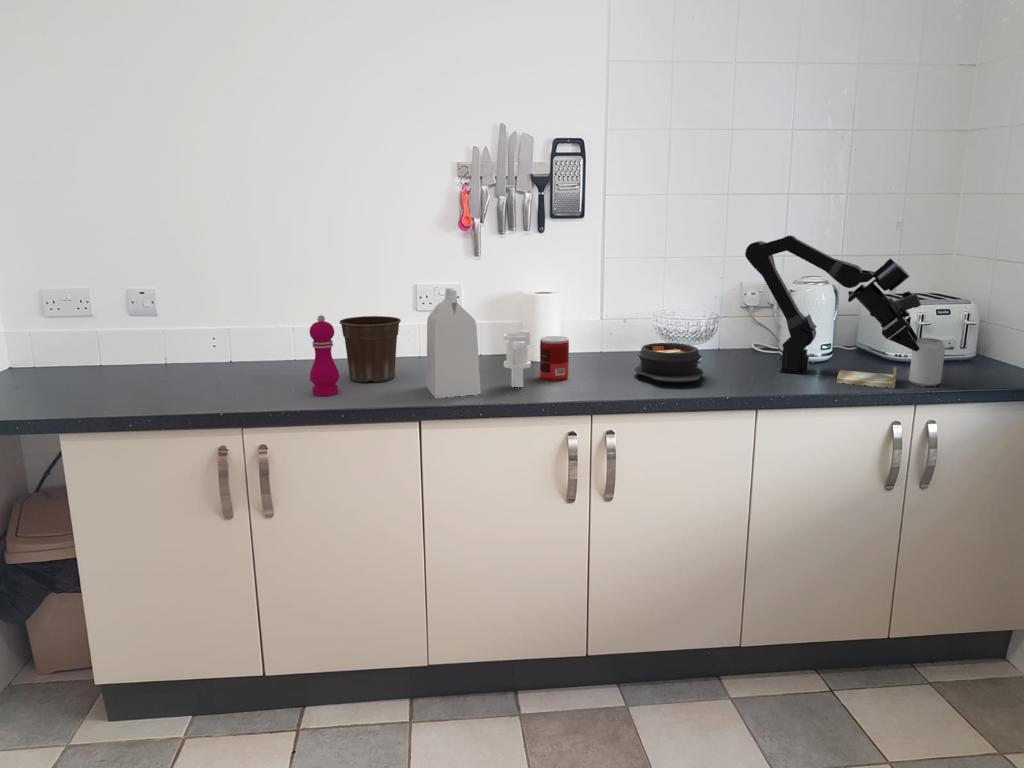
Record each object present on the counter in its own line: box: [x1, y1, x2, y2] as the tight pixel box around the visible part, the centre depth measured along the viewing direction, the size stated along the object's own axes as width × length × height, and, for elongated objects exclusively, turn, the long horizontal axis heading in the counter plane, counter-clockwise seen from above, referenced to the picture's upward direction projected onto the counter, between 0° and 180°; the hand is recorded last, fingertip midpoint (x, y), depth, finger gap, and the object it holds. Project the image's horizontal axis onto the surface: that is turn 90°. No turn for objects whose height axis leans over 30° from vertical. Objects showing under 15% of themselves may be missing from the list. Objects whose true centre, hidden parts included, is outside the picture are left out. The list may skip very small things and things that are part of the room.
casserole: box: [634, 342, 704, 383], centre depth 216 cm, size 25×19×8 cm
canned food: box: [539, 335, 570, 382], centre depth 216 cm, size 8×8×11 cm
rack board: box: [835, 367, 897, 389], centre depth 212 cm, size 14×11×3 cm
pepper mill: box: [309, 314, 340, 397], centre depth 199 cm, size 7×7×20 cm
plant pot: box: [339, 315, 402, 383], centre depth 216 cm, size 16×16×16 cm
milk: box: [426, 287, 482, 399], centre depth 200 cm, size 12×12×26 cm
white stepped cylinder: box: [503, 329, 532, 389], centre depth 206 cm, size 7×7×15 cm
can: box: [908, 337, 946, 387], centre depth 208 cm, size 8×8×12 cm
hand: (918, 347), depth 208 cm, fingers open, 9 cm apart
